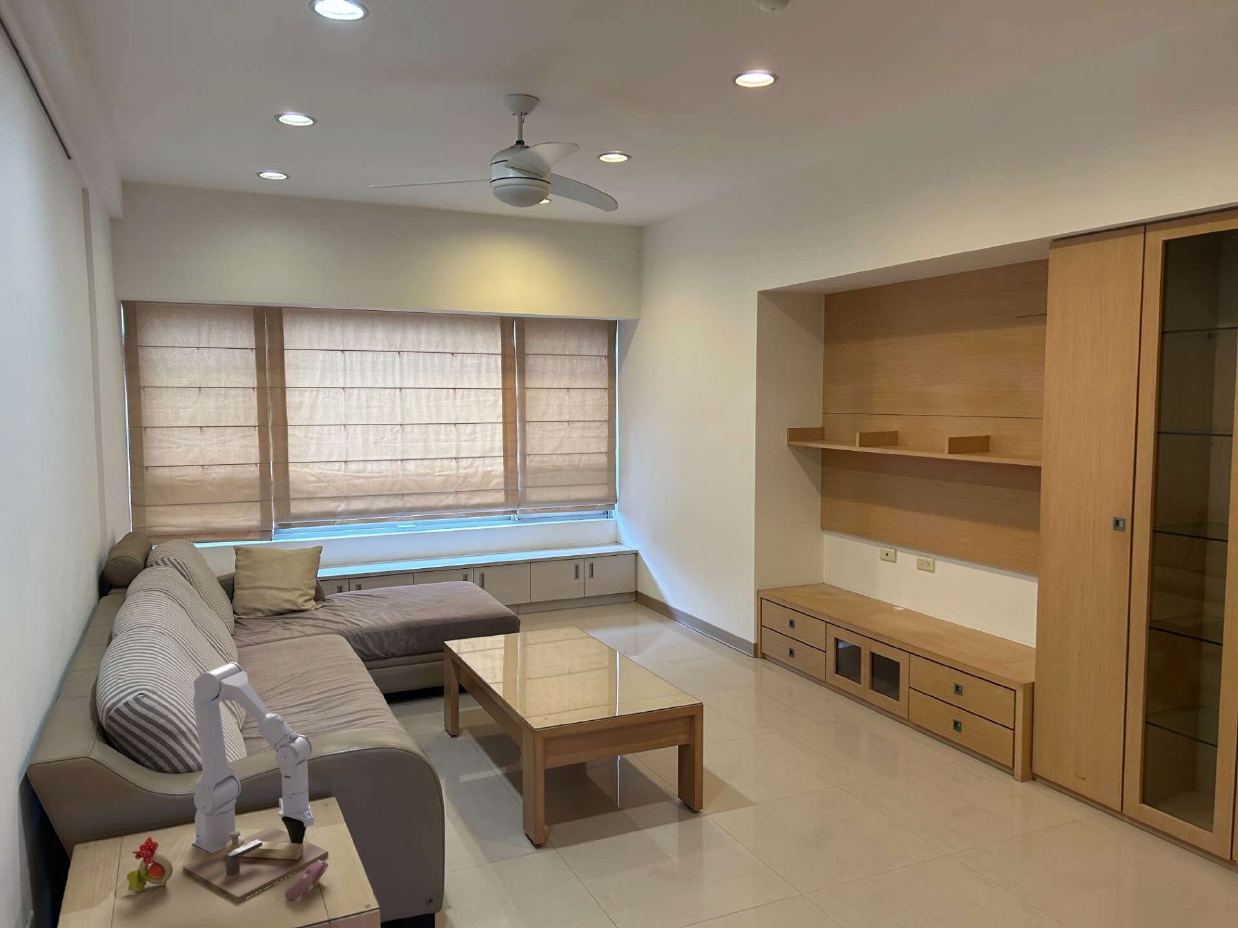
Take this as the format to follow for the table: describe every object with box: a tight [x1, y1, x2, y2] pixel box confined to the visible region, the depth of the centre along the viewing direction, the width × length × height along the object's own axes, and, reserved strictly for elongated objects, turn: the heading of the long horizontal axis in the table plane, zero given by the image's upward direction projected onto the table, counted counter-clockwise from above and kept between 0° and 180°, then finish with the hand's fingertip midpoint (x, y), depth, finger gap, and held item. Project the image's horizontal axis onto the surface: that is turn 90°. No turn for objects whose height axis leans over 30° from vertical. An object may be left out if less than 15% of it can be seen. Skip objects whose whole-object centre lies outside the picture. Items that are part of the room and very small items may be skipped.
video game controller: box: [284, 860, 329, 901], centre depth 194 cm, size 10×5×7 cm, turn 169°
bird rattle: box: [126, 836, 174, 893], centre depth 195 cm, size 6×11×9 cm
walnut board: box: [182, 825, 329, 903], centre depth 205 cm, size 22×23×1 cm
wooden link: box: [226, 830, 303, 860], centre depth 206 cm, size 18×4×5 cm, turn 83°
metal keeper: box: [226, 839, 262, 876], centre depth 201 cm, size 2×8×5 cm, turn 145°
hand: (297, 844), depth 208 cm, fingers closed
